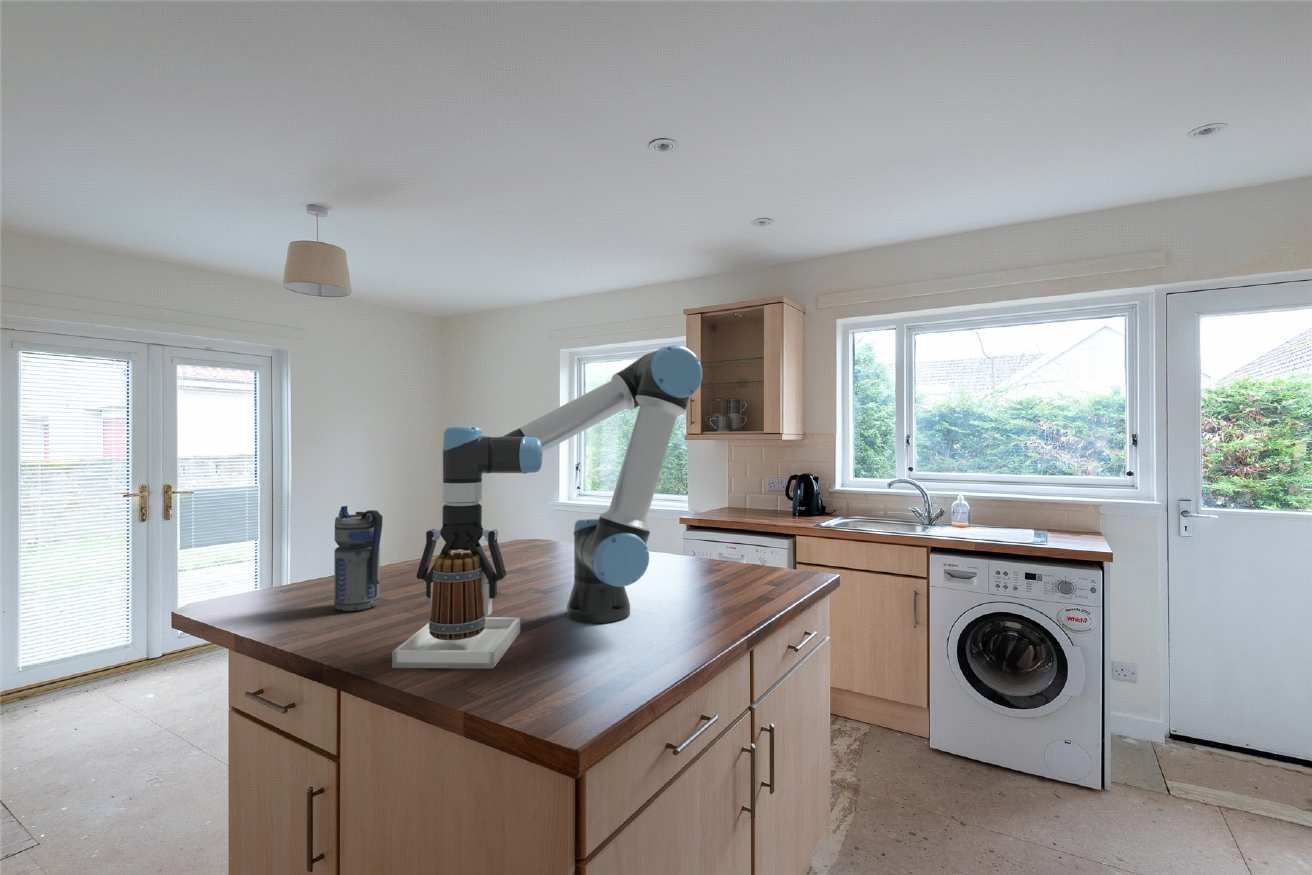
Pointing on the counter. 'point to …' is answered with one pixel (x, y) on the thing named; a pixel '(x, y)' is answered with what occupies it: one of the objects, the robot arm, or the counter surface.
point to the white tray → (458, 647)
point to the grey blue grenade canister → (357, 560)
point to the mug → (457, 597)
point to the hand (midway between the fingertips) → (461, 614)
